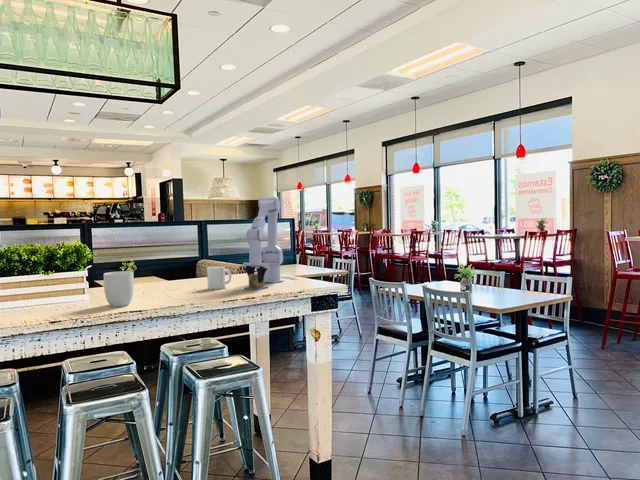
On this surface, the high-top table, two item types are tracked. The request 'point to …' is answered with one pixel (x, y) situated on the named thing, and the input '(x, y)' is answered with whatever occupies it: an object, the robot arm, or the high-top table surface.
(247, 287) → the slate coaster
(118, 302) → the mug
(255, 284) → the walnut block
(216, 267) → the mug
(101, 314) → the high-top table surface
